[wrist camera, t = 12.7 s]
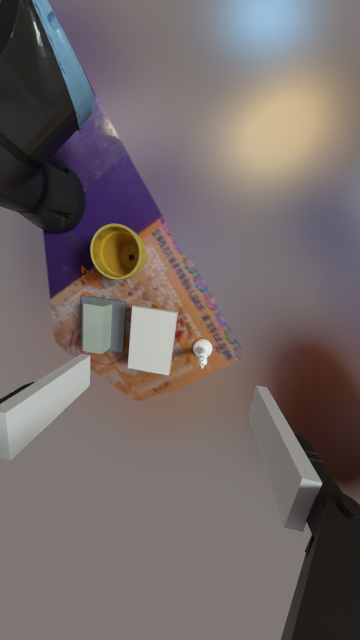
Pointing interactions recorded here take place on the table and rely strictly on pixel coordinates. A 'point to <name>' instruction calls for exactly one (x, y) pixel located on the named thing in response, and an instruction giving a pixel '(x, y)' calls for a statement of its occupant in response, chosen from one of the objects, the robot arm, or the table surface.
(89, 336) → the stand
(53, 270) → the table surface
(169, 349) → the board
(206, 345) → the chess piece
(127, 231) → the plant pot
